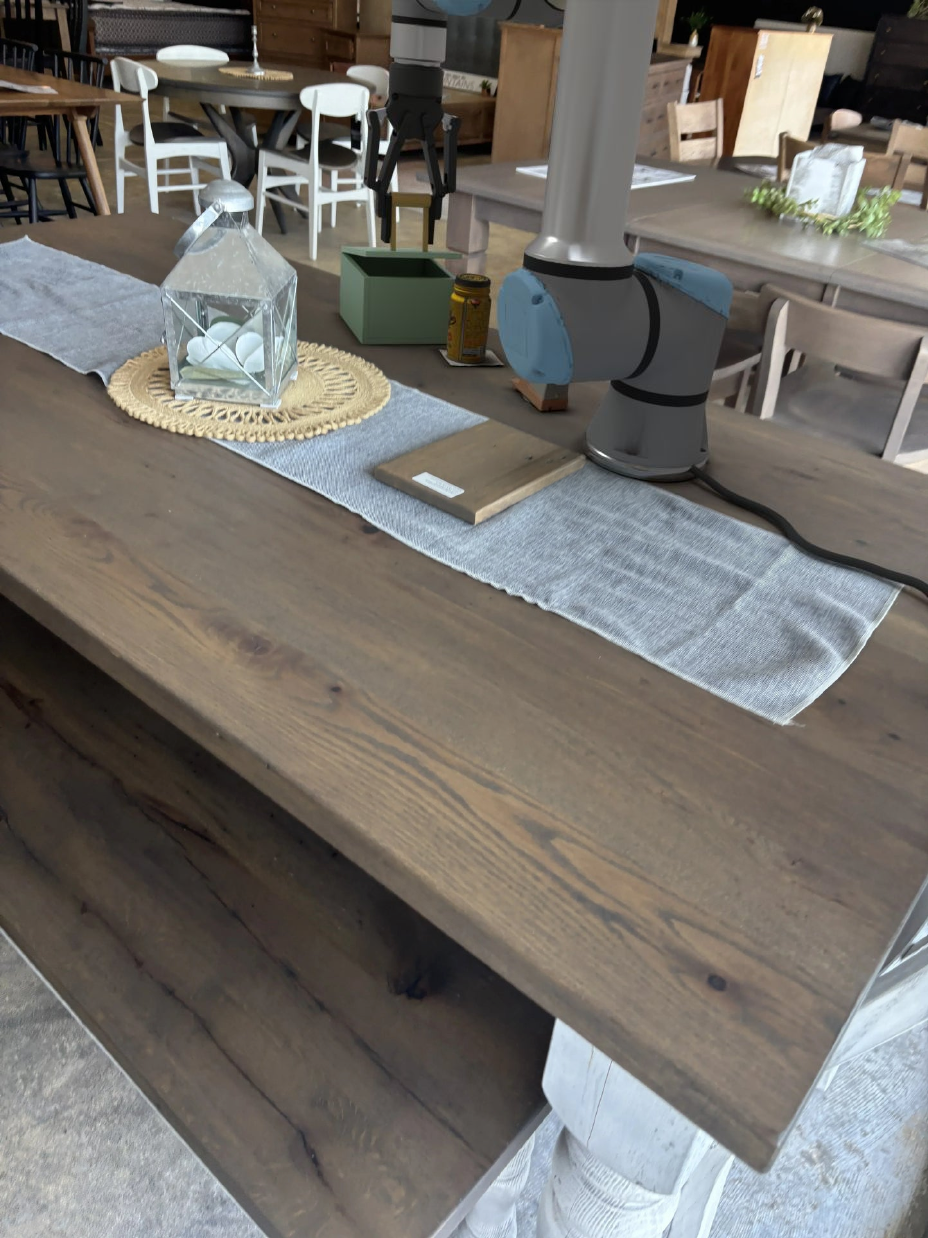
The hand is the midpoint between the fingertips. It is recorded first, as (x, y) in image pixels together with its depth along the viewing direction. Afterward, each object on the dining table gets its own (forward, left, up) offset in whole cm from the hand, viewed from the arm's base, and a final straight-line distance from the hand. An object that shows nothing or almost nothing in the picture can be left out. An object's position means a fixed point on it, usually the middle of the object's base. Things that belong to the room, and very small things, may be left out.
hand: (406, 241), depth 137 cm
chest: (+4, 0, -14) cm, 15 cm away
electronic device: (-28, -12, -14) cm, 34 cm away
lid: (+4, 0, -3) cm, 5 cm away
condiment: (-11, -8, -14) cm, 20 cm away
